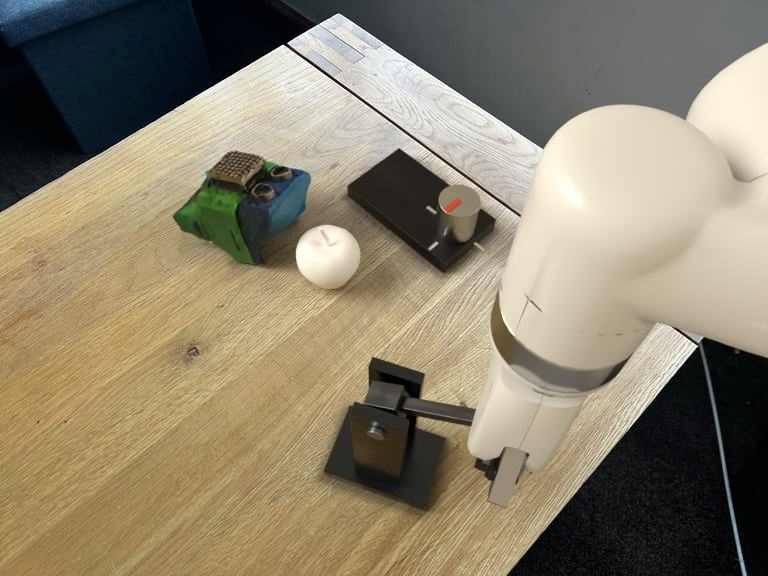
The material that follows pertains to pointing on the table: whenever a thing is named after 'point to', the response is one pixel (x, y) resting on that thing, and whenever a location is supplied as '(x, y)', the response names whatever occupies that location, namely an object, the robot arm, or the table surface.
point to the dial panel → (413, 207)
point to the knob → (457, 214)
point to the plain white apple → (328, 256)
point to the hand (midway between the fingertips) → (504, 438)
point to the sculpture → (244, 204)
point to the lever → (414, 404)
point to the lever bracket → (387, 445)
